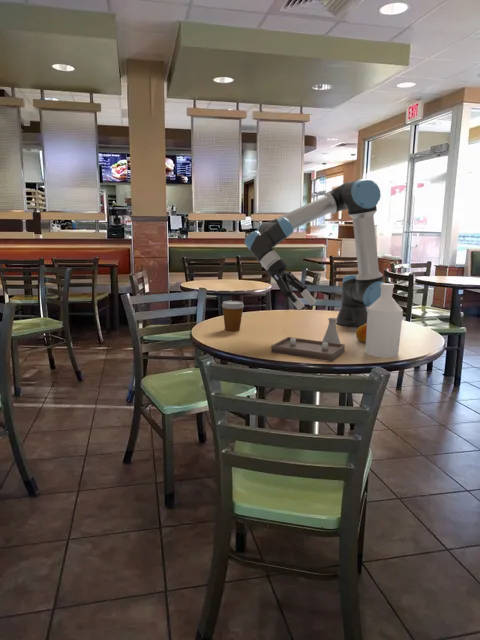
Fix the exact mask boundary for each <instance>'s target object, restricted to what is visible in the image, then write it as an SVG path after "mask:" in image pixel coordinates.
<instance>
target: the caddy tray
mask: <svg viewBox="0 0 480 640" xmlns="http://www.w3.org/2000/svg"><path fill="white" fill-rule="evenodd" d="M270 348H271V350H270V351H271V353H272V354H273V353H274V354H278V355H279V354H280V355H287V356H291V357H293V356H294V357H300V358H306V359H307V358H308V359H313V360H319V361H320V360H321V361H327V362H333V361H335V360H336V359H337V358H338V357H339V356H341V355H342V354H344V352H345V350H346V344H345V343H340V344H338V343H330V342H323V341H322V340H314V339H308V338H307V339H306V338H299V337H298V338H297V337H292V336H291V337H290V336H288V337H285V338H283V339H282V340H280V341H278V342H275V343H274V344H272V345H271V347H270Z"/></svg>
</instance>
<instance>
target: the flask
mask: <svg viewBox="0 0 480 640" xmlns="http://www.w3.org/2000/svg"><path fill="white" fill-rule="evenodd" d="M327 320H328V326H327V329H326V331H325V334H324V335H323V339H322V340H321V341H323V342H330V343H338V344H341V341H340V338H339V334H338V331H337V323H336V320H337V317H336V318H335V317H329V318H328V319H327Z"/></svg>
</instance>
